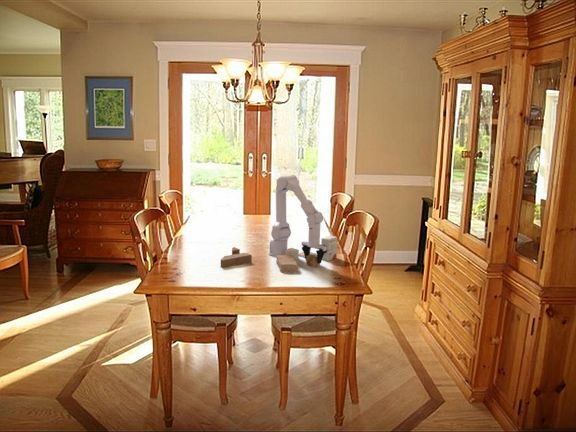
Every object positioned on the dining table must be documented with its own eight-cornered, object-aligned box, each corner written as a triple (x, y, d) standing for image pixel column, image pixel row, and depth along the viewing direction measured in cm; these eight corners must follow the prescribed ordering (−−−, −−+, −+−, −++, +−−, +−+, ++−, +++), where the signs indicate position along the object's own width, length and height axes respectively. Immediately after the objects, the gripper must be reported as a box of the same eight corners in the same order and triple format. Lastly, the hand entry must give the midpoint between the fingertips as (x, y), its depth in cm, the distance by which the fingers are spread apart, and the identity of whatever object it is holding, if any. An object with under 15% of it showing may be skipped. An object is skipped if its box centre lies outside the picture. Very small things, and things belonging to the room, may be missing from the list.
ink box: (329, 256, 269) (330, 235, 267) (336, 258, 266) (338, 236, 264) (320, 259, 263) (321, 237, 260) (327, 261, 260) (328, 239, 257)
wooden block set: (253, 252, 253) (222, 258, 242) (253, 263, 254) (222, 269, 244) (236, 245, 266) (206, 250, 255) (235, 255, 268) (206, 260, 257)
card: (295, 255, 269) (295, 254, 269) (306, 251, 276) (306, 251, 276) (305, 257, 264) (305, 257, 264) (316, 254, 272) (316, 253, 272)
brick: (297, 272, 241) (297, 263, 240) (280, 273, 239) (280, 263, 238) (291, 262, 257) (292, 254, 256) (275, 263, 255) (276, 254, 254)
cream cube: (285, 258, 262) (285, 249, 261) (291, 256, 266) (291, 247, 265) (292, 260, 259) (292, 251, 258) (298, 258, 263) (298, 249, 262)
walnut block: (306, 265, 252) (306, 255, 251) (312, 263, 256) (312, 253, 255) (313, 267, 249) (314, 257, 248) (319, 265, 253) (320, 255, 252)
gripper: (298, 234, 251) (297, 260, 254) (321, 239, 242) (319, 266, 245) (306, 232, 256) (305, 257, 259) (329, 237, 247) (328, 263, 250)
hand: (313, 261), depth 252 cm, fingers open, 7 cm apart
